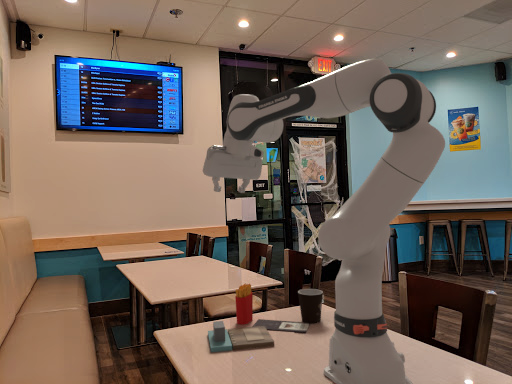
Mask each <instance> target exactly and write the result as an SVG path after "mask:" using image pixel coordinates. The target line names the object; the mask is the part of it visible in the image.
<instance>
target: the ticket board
mask: <svg viewBox="0 0 512 384" xmlns="http://www.w3.org/2000/svg"><path fill="white" fill-rule="evenodd" d="M227 331H228V335H229V338H230V341H231V344H232V351H238V350H239V351H240V350H249V349H250V350H251V349H260V348H268V347H269V348H270V347H275V340H274V339H273V336H271V334H270V332H269V330H267V329H266V328H265V326H256V327H252V326H249V327H248V326H247V327H246V326H245V327H236V328H235V327H234V328H228V329H227Z"/></svg>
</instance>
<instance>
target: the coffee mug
mask: <svg viewBox="0 0 512 384" xmlns="http://www.w3.org/2000/svg"><path fill="white" fill-rule="evenodd" d="M323 293H324V292H323V290H320V289H316V288H303V289H299V290H297V294H298V295H297V296H298V300H299V301H298V302H299V308H300V316H301V322H307V323H310V325H313V324H315V325H316V324H319V323H320V322H322V321H321V320H322V319H321V318H322V308H323V307H322V306H323V297H324V294H323Z"/></svg>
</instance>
